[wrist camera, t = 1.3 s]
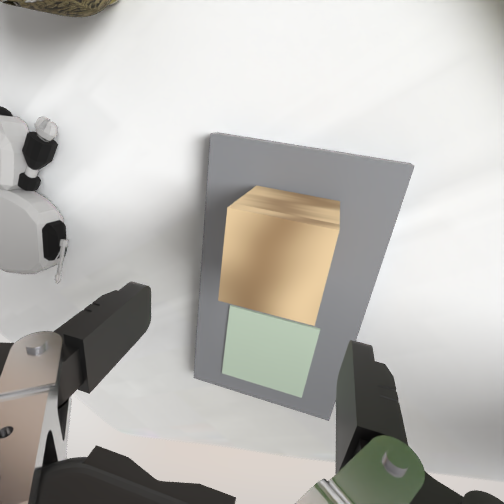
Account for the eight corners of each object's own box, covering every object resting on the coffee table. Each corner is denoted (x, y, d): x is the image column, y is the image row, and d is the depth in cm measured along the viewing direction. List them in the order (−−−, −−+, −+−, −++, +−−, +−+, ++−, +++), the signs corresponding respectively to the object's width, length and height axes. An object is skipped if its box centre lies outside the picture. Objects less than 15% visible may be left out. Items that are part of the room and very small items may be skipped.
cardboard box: (340, 201, 22) (339, 230, 16) (321, 276, 24) (314, 326, 18) (256, 185, 23) (227, 207, 17) (246, 259, 25) (218, 300, 19)
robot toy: (-26, 99, 30) (-7, 246, 35) (-85, 91, 26) (-53, 259, 31) (85, 120, 28) (88, 273, 33) (41, 115, 23) (52, 291, 29)
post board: (410, 163, 21) (441, 182, 15) (329, 407, 31) (326, 485, 25) (217, 132, 24) (169, 136, 17) (199, 367, 34) (164, 428, 27)
